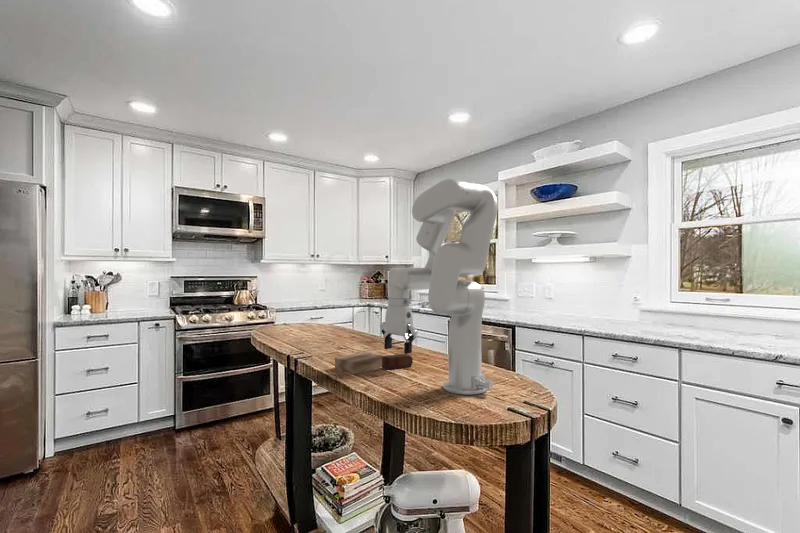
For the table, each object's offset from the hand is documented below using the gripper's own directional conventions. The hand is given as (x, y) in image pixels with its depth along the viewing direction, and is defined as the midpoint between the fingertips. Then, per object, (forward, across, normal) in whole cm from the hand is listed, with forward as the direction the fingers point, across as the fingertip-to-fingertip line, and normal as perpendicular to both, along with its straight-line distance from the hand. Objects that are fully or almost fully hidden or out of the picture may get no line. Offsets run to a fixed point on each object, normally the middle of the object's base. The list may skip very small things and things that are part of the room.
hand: (397, 350), depth 144 cm
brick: (+6, 0, 0) cm, 7 cm away
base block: (+6, +10, +9) cm, 15 cm away
